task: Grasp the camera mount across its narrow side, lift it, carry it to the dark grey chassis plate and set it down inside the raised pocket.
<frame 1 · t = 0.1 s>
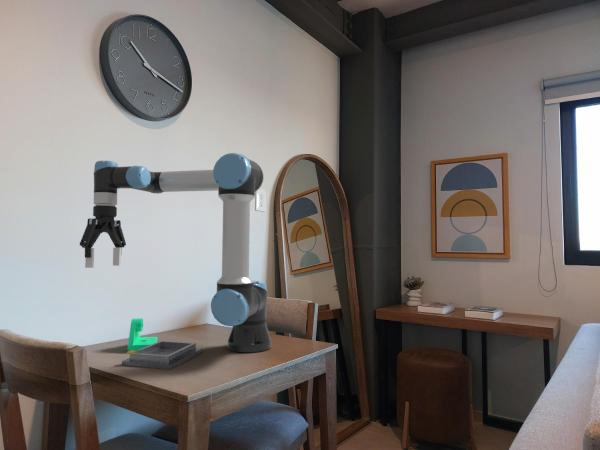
hand: (103, 266, 149), 28 cm above the table, fingers open, 13 cm apart
camera mount: (143, 349, 147), on the table
chassis: (164, 358, 134), on the table
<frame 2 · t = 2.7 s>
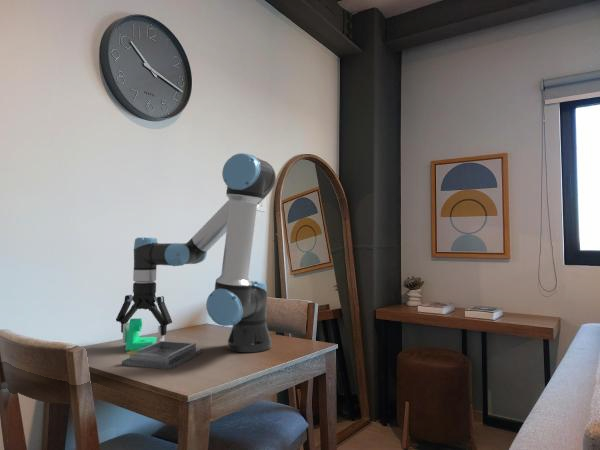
hand: (143, 343, 148), 1 cm above the table, fingers open, 13 cm apart
nothing on the table moved.
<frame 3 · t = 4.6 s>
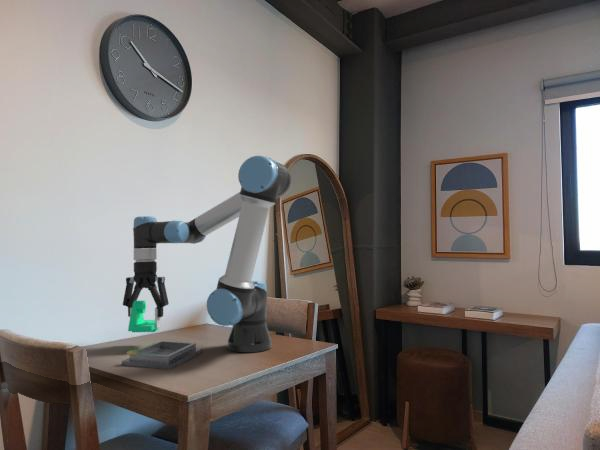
hand: (145, 326, 147), 7 cm above the table, fingers closed on camera mount, 9 cm apart
camera mount: (145, 331, 147), point 6 cm above the table, touching gripper
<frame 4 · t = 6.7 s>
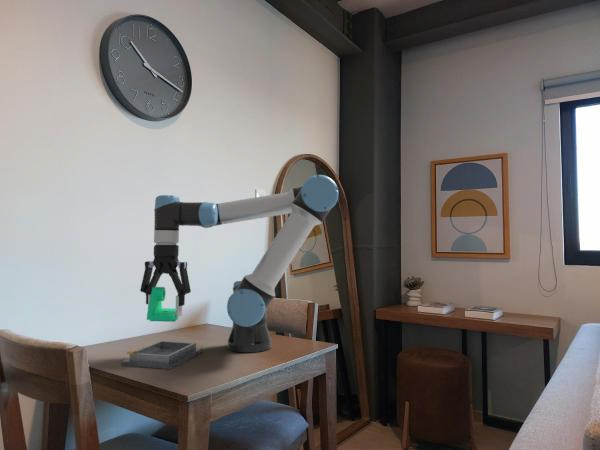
hand: (164, 315, 135), 13 cm above the table, fingers closed on camera mount, 9 cm apart
camera mount: (164, 320, 135), point 12 cm above the table, touching gripper
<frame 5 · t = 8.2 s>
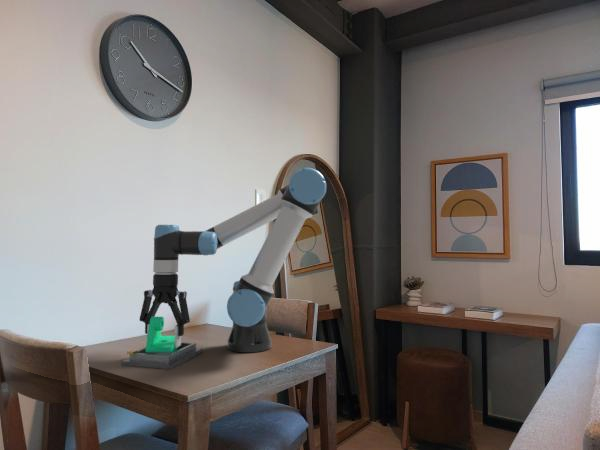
hand: (163, 345, 135), 4 cm above the table, fingers closed on camera mount, 9 cm apart
camera mount: (163, 350, 134), point 3 cm above the table, touching chassis, gripper
when the fingers open (4 cm above the table, at t = 9.2 s): camera mount drops 1 cm, resting on chassis.
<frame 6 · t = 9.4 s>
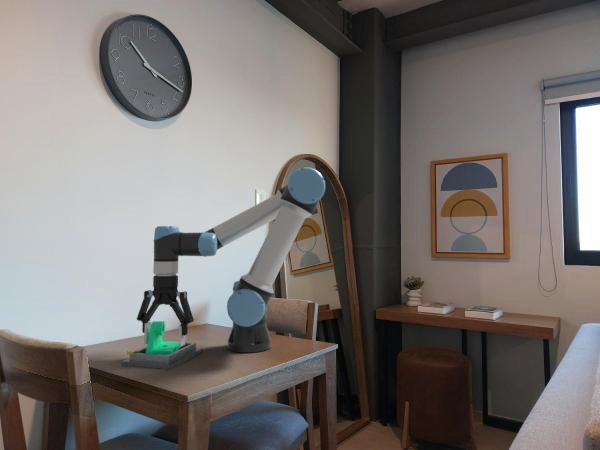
hand: (164, 344, 135), 4 cm above the table, fingers open, 11 cm apart
camera mount: (164, 355, 135), point 1 cm above the table, touching chassis
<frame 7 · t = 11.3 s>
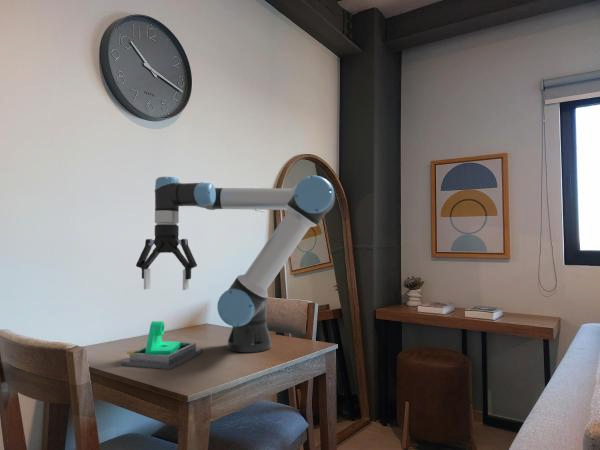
hand: (166, 289, 140), 21 cm above the table, fingers open, 13 cm apart
nothing on the table moved.
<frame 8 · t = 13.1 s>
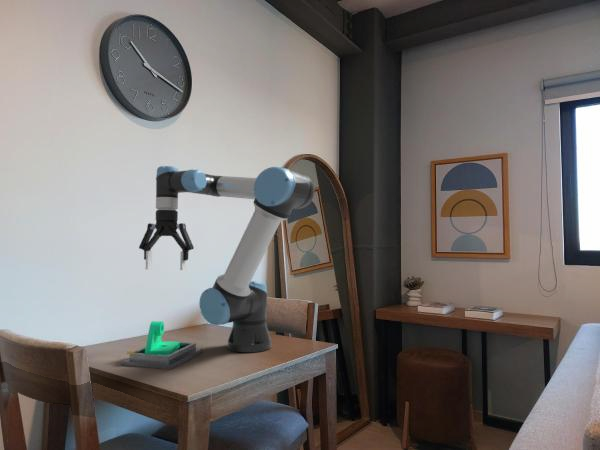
hand: (165, 269, 152), 27 cm above the table, fingers open, 13 cm apart
nothing on the table moved.
at the end: camera mount 0.3 cm off-centre on the chassis, point 1.0 cm above the chassis's base; camera mount tilted 0°; the gripper is holding nothing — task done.
